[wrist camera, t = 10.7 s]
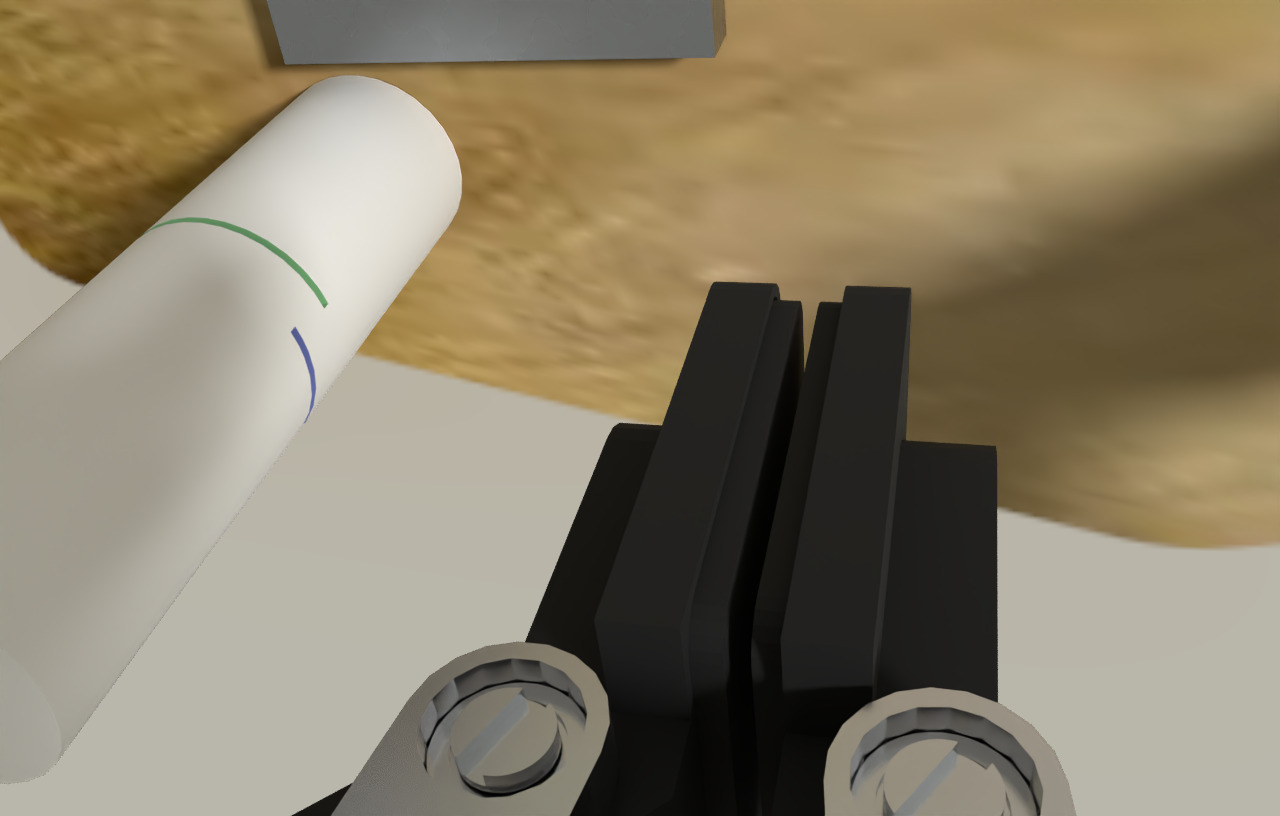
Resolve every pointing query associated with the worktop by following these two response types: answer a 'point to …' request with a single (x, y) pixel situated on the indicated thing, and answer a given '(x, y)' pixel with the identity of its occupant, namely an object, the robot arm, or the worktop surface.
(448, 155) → the cylindrical container
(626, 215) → the worktop surface
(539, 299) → the worktop surface
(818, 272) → the worktop surface
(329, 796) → the robot arm
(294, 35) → the breaker panel
